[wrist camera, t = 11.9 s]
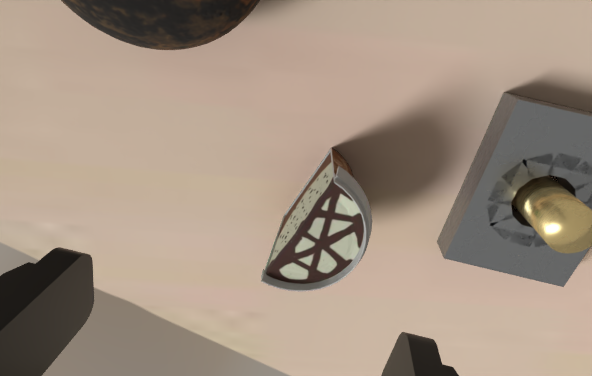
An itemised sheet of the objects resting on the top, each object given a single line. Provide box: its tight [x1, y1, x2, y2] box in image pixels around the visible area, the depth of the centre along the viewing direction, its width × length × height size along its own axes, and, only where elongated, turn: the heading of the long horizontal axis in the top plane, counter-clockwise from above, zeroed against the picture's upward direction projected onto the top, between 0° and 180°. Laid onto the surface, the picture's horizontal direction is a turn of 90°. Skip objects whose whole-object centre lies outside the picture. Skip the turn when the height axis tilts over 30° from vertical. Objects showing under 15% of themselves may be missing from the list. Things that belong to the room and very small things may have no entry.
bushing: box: [511, 175, 592, 254], centre depth 33 cm, size 4×4×8 cm
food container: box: [261, 148, 372, 291], centre depth 35 cm, size 12×6×10 cm, turn 149°
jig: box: [437, 92, 592, 287], centre depth 35 cm, size 16×12×3 cm
